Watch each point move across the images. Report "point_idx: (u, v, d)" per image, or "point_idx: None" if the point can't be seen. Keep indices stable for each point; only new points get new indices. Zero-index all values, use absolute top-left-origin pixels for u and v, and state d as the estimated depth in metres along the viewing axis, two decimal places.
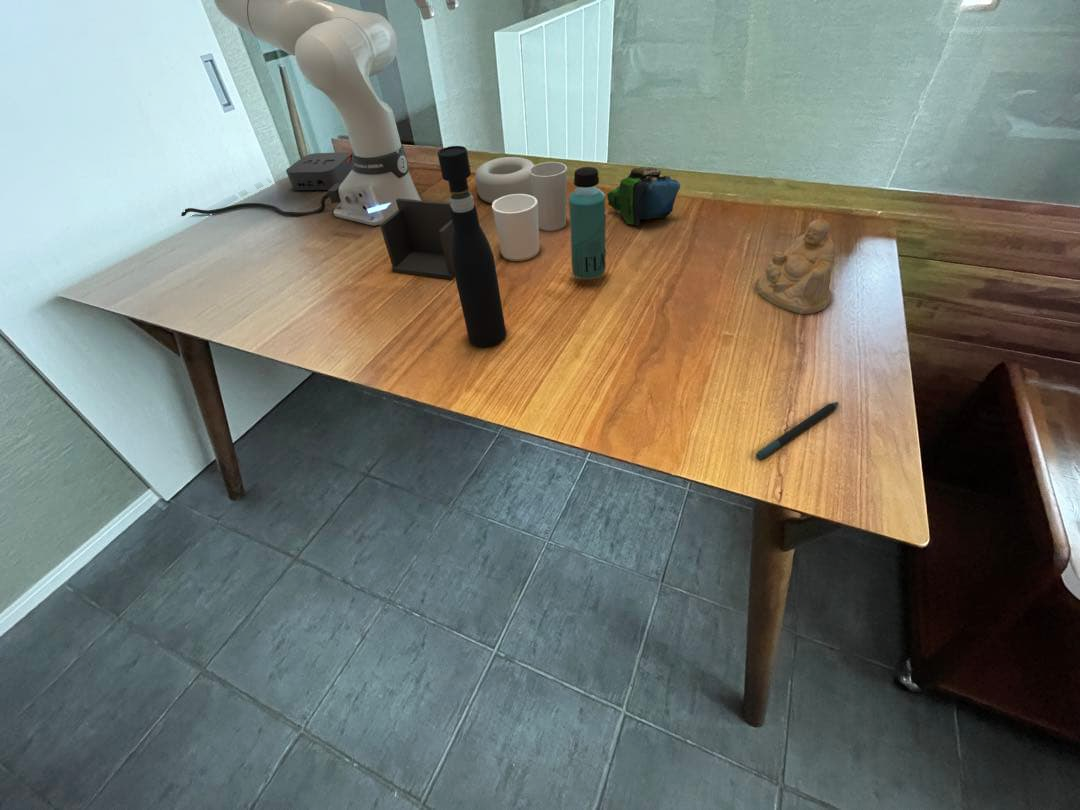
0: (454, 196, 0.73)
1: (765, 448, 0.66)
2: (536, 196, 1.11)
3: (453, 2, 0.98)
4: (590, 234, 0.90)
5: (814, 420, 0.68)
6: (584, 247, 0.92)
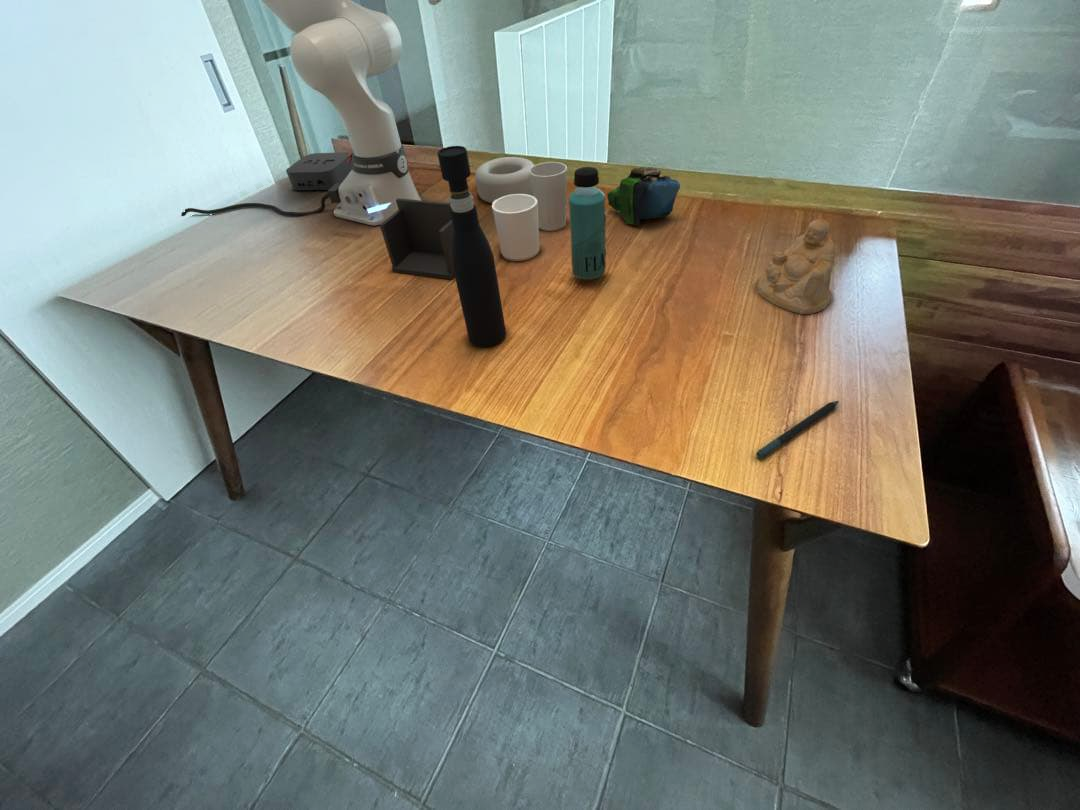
0: (454, 196, 0.73)
1: (765, 447, 0.65)
2: (536, 195, 1.11)
3: None
4: (590, 234, 0.90)
5: (815, 418, 0.68)
6: (584, 247, 0.92)
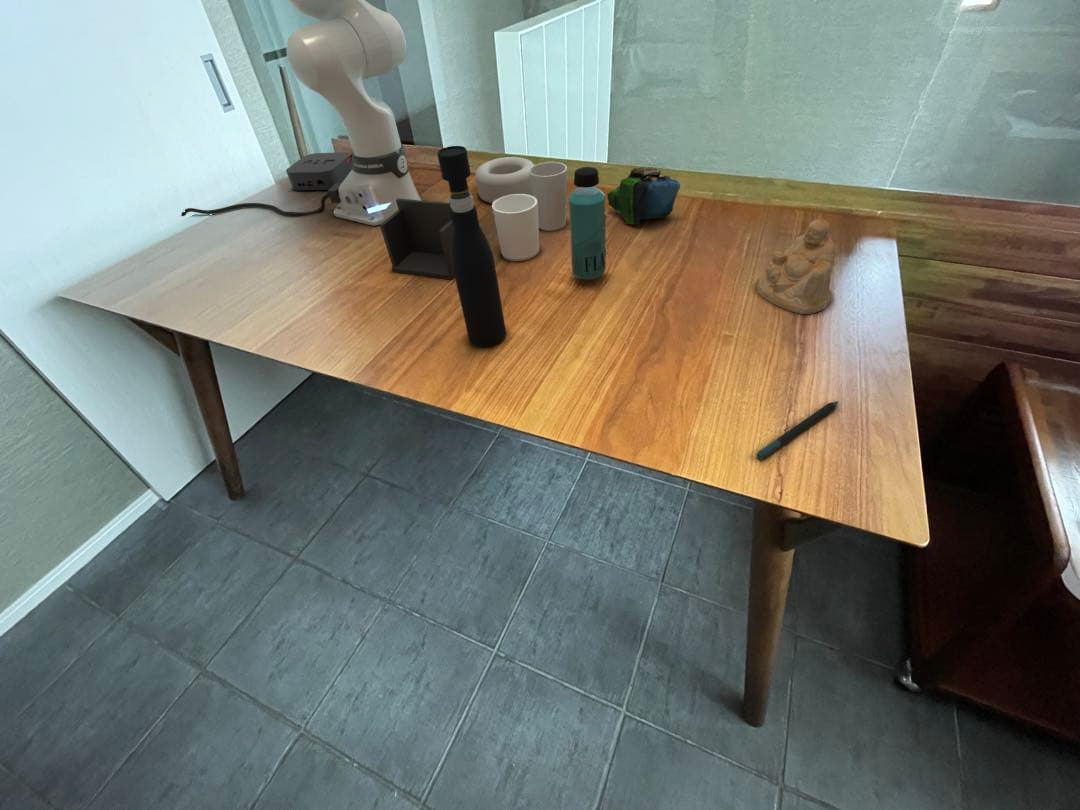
0: (454, 196, 0.73)
1: (765, 448, 0.66)
2: (536, 195, 1.11)
3: None
4: (590, 234, 0.90)
5: (814, 419, 0.68)
6: (584, 247, 0.92)
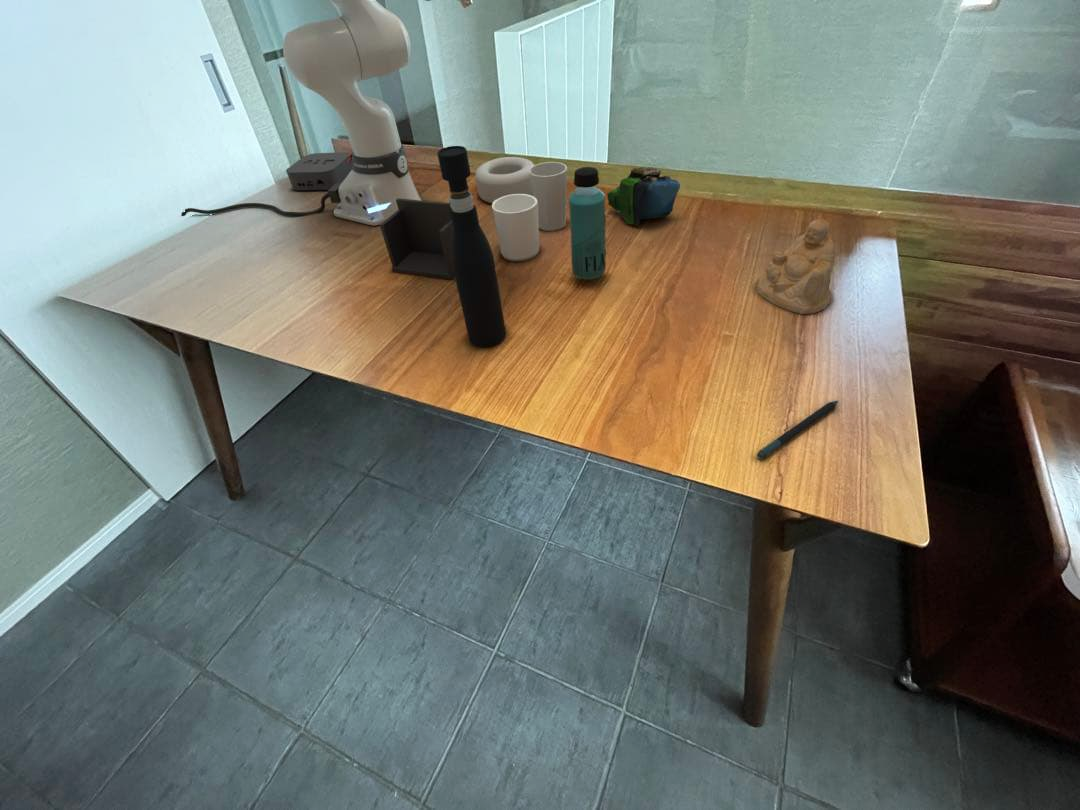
0: (454, 196, 0.73)
1: (766, 447, 0.65)
2: (536, 195, 1.11)
3: None
4: (590, 234, 0.90)
5: (815, 418, 0.68)
6: (584, 247, 0.92)
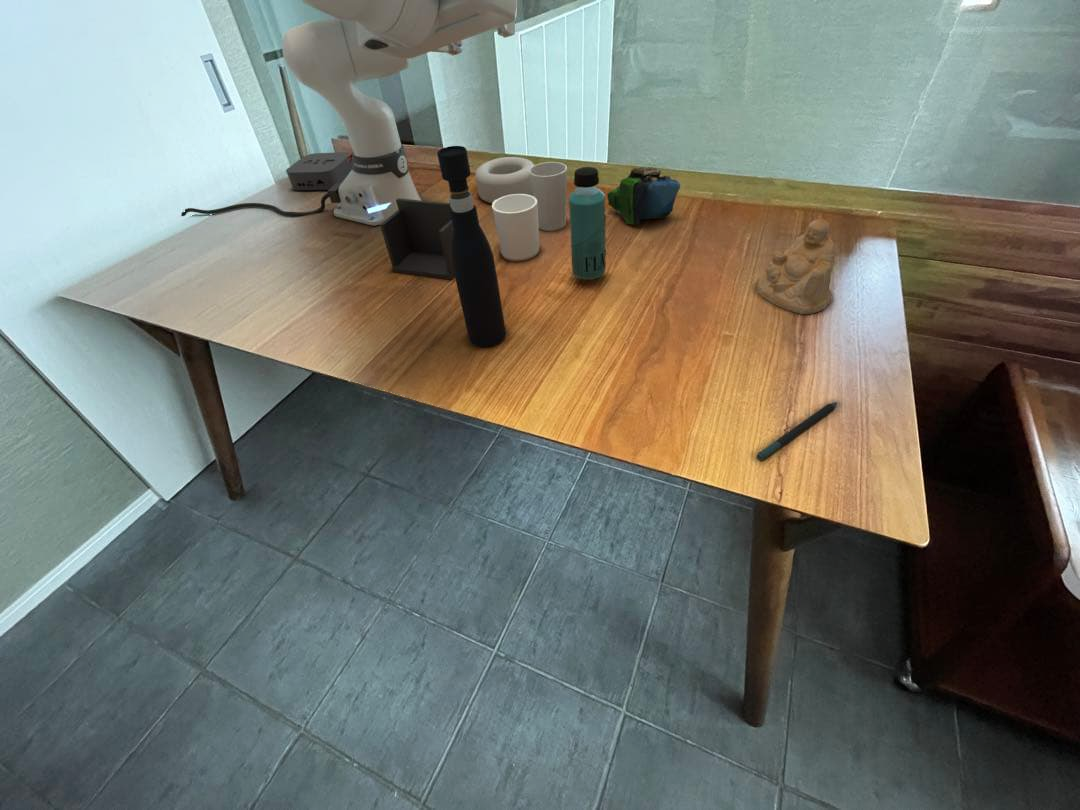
0: (454, 196, 0.73)
1: (765, 449, 0.66)
2: (536, 195, 1.11)
3: None
4: (590, 234, 0.90)
5: (814, 420, 0.69)
6: (584, 247, 0.92)
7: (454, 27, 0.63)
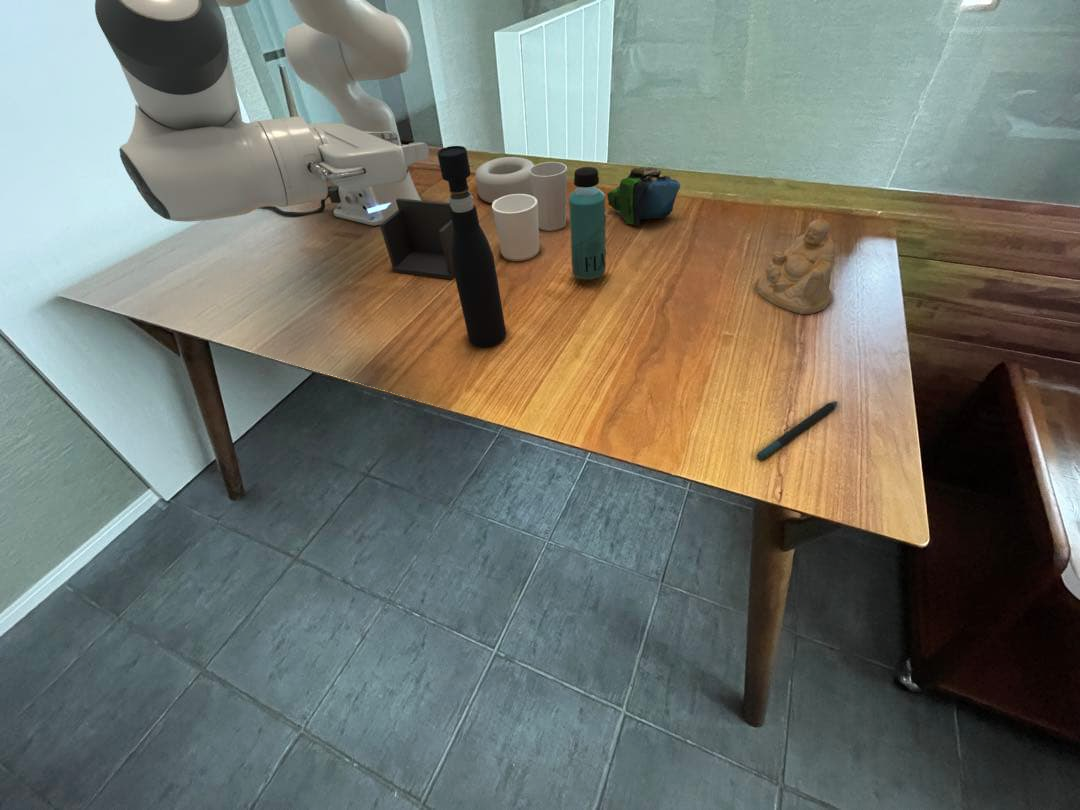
0: (454, 196, 0.73)
1: (766, 448, 0.66)
2: (536, 195, 1.11)
3: None
4: (590, 234, 0.90)
5: (814, 419, 0.68)
6: (584, 247, 0.92)
7: None
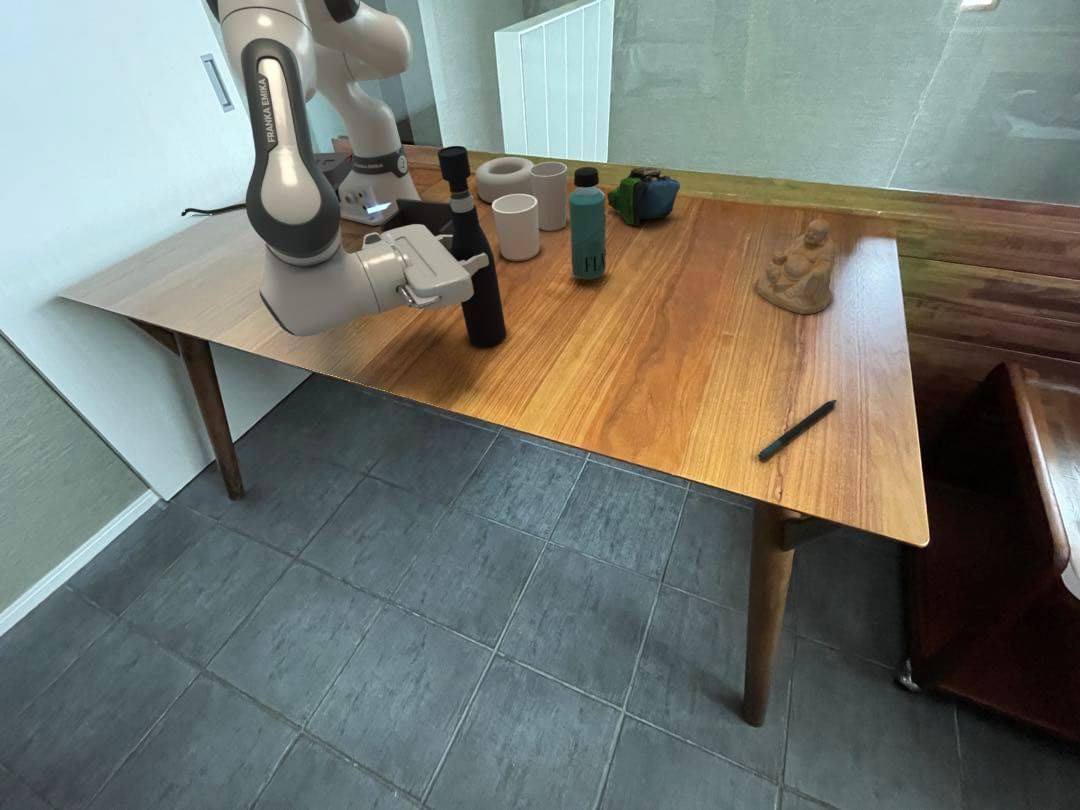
0: (454, 196, 0.73)
1: (767, 448, 0.65)
2: (536, 195, 1.11)
3: None
4: (590, 234, 0.90)
5: (814, 418, 0.68)
6: (584, 247, 0.92)
7: None
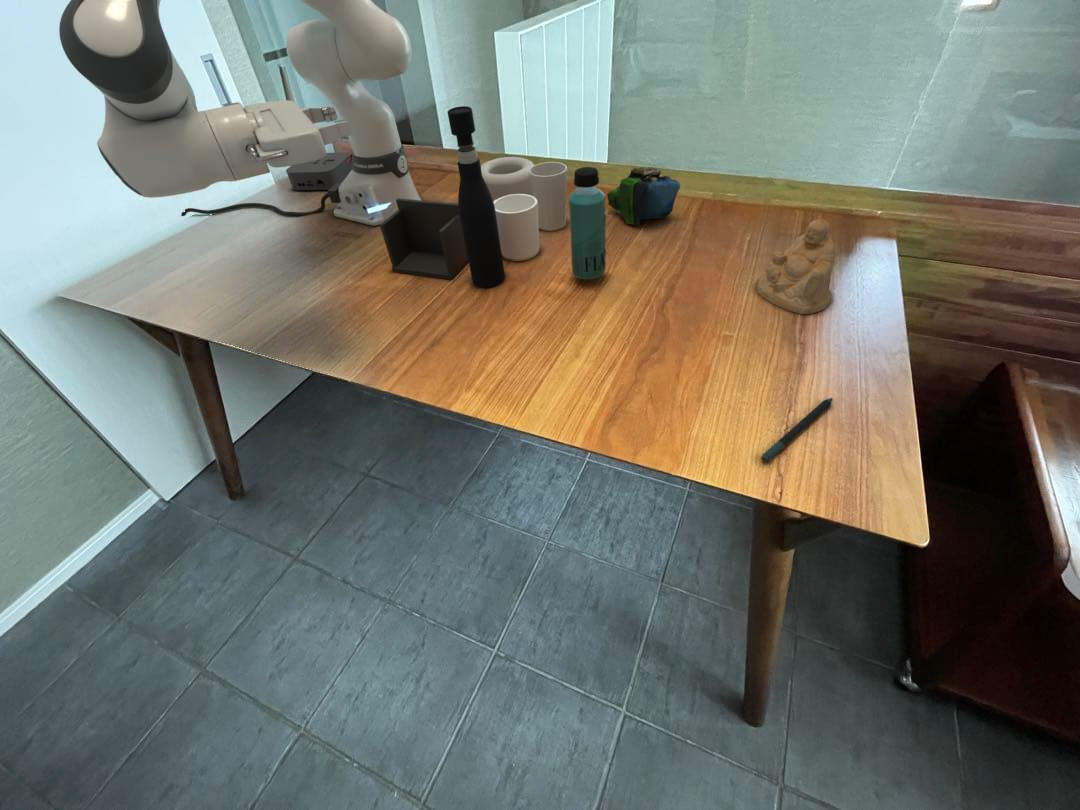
0: (461, 150, 0.87)
1: (770, 450, 0.65)
2: (536, 195, 1.11)
3: None
4: (590, 234, 0.90)
5: (813, 417, 0.68)
6: (584, 247, 0.92)
7: None
